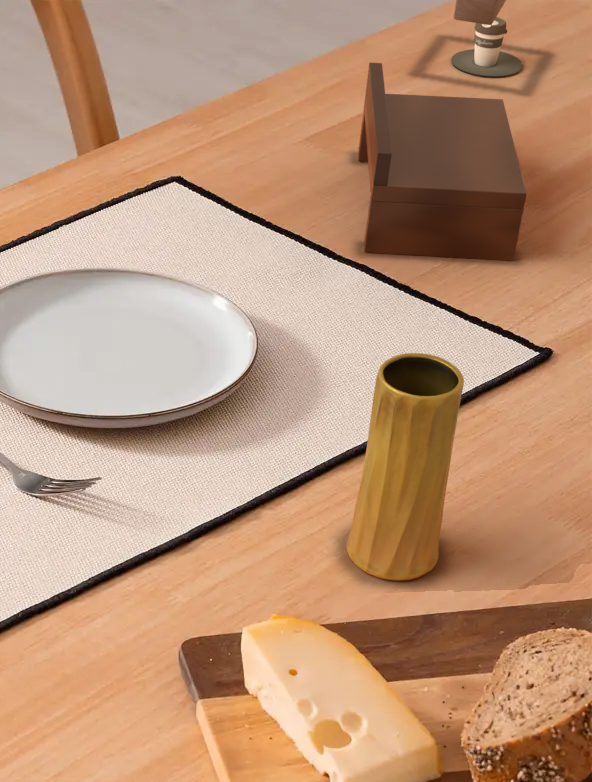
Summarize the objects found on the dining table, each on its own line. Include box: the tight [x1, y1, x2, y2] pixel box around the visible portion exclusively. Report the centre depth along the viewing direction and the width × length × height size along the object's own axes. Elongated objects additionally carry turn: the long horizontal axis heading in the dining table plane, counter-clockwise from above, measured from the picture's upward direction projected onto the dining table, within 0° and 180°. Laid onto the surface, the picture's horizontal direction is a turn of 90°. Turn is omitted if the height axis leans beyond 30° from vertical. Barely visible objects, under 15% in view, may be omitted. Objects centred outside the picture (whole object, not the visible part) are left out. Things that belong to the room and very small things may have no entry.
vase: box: [346, 352, 465, 581], centre depth 100 cm, size 6×6×14 cm
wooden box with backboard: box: [357, 62, 527, 262], centre depth 142 cm, size 13×20×10 cm, turn 174°
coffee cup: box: [450, 16, 524, 78], centre depth 170 cm, size 12×12×5 cm
